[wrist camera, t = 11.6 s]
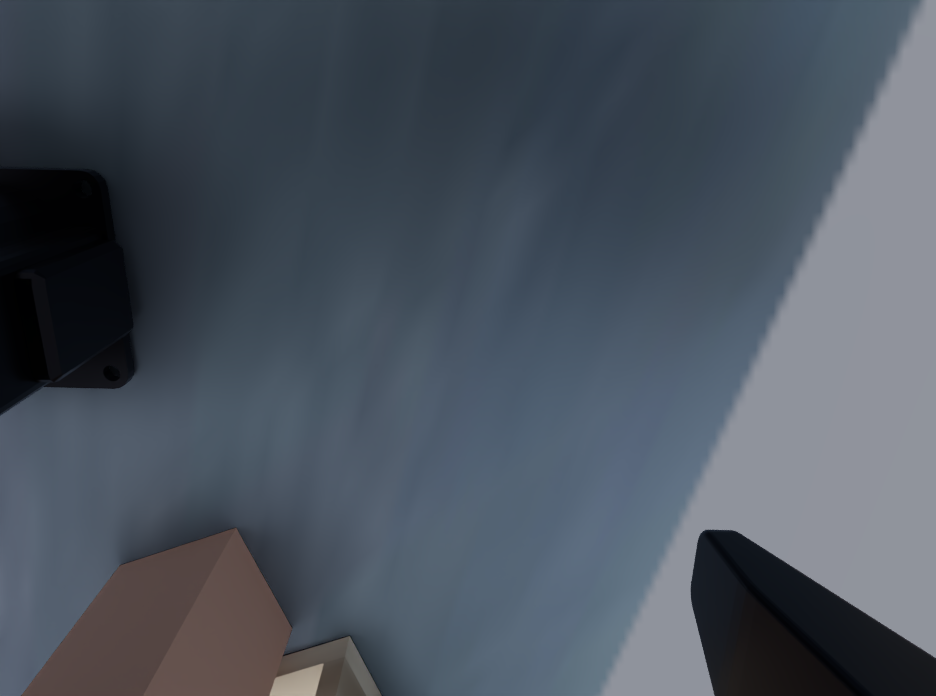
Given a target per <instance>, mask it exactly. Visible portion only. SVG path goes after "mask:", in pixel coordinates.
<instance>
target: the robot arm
mask: <svg viewBox="0 0 936 696" xmlns="http://www.w3.org/2000/svg"><path fill="white" fill-rule="evenodd" d="M83 180H85V181H87V182H88V183H89V184H90V186H91V188H92V194H91V195H90V196H87V195H86V194H85V193H84V192H83V191H82V189H81V182H82V181H83ZM132 328H133V319H132V312H131V305H130V298H129V291H128V284H127V277H126V270H125V263H124V256H123V250H122V248H121V246H120V245H119V244H118V243H117V242H116V241H115V234H114V227H113V221H112V214H111V207H110V200H109V193H108V187H107V184H106V181H105V180H104V178H103V177H102V176H101V175H100V174H99V173H97V172H96V171H93V170H89V169H60V168H18V167H0V416H1V415H2V414H4V413H5V412H7V411H8V410H9V409H11V408H12V407H14V406H15V405H17V404H18V403H20V402H21V401H23V400H24V399H26V398H27V397H29V396H30V395H32V394H33V393H35V392H36V391H38V390H39V389H41V388H42V387H67V388H108V389H115V388H120V387H122V386H123V385H125V384H126V383H127V382H129V381H130V380H131V379H132V377H133V375H134V365H133V358H132V351H131V344H130V337H129V332H130V330H131V329H132ZM110 365H111V366H114V367H116V368H117V369H118V370H119V372H120V376H115V375H114V374H113V373H111V371H110ZM691 601H692V607H693V611H694V614H695V619H696V623H697V626H698V631H699V635H700V639H701V642H702V647H703V650H704V655H705V659H706V663H707V667H708V671H709V675H710V679H711V683H712V687H713V691H714V695H715V696H936V658H934V657H933V656H931V655H930V654H928V653H927V652H925V651H924V650H922V649H921V648H919V647H917V646H916V645H914V644H913V643H911V642H910V641H908V640H906V639H905V638H903V637H902V636H900V635H898V634H897V633H895V632H894V631H892V630H891V629H889V628H888V627H886V626H884V625H883V624H881V623H880V622H878V621H876V620H875V619H873V618H872V617H870V616H868V615H867V614H866V613H864V612H862V611H861V610H859V609H858V608H856V607H854V606H853V605H851V604H849V603H848V602H847V601H845V600H844V599H842V598H840V597H839V596H837V595H836V594H834V593H832V592H831V591H829V590H828V589H826V588H825V587H823V586H822V585H820V584H818V583H817V582H815V581H814V580H812V579H811V578H809V577H807V576H806V575H804V574H803V573H801V572H800V571H798V570H797V569H795V568H793V567H792V566H790V565H789V564H787V563H786V562H784V561H782V560H781V559H779V558H778V557H776V556H774V555H773V554H771V553H770V552H768V551H767V550H765V549H763V548H762V547H760V546H759V545H757V544H756V543H754V542H752V541H751V540H749V539H747V538H746V537H745V536H743V535H742V534H740V533H738V532H736V531H732V530H705V531H703V532H702V533H701V534H700V536H699V539H698V543H697V550H696V556H695V563H694V569H693V576H692V581H691Z"/></svg>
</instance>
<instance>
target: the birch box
mask: <svg viewBox="0 0 936 696" xmlns="http://www.w3.org/2000/svg"><path fill="white" fill-rule="evenodd" d="M269 696H382V695H381V693H380V691H379V690H378V688H377V686H376V684H375V682H374V680H373V678H372V677H371V675H370V673H369V671H368V669H367V667H366V665H365V664H364V662H363V660H362V658H361V656H360V654H359V652H358V650H357V649H356V647H355V645H354V643H353V641H352V639H351V637H350V636H348V637H345V638H342V639H338V640H335V641H332V642H329V643H325V644H322V645H319V646H315V647H312V648H309V649H306V650H302V651H299V652H296V653H292V654H289V655H286V656H283V657H282V660H281V663H280V666H279V669H278V672H277V675H276V678H275V680H274V683H273V686H272V689H271V692H270V695H269Z"/></svg>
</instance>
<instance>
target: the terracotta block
mask: <svg viewBox="0 0 936 696" xmlns="http://www.w3.org/2000/svg"><path fill="white" fill-rule="evenodd" d="M291 631H292V627H291V625H290V624H289V622H288V620H287V618H286V616H285V615H284V613H283V611H282V609H281V607H280V606H279V604H278V602H277V600H276V598H275V597H274V595H273V593H272V591H271V589H270V588H269V586H268V584H267V582H266V581H265V579H264V577H263V575H262V573H261V572H260V570H259V568H258V566H257V564H256V563H255V561H254V559H253V557H252V555H251V554H250V552H249V550H248V548H247V546H246V545H245V543H244V541H243V539H242V537H241V536H240V534H239V532H238V530H237V528H233V529H230V530H227V531H224V532H221V533H218V534H215V535H212V536H209V537H206V538H203V539H200V540H197V541H194V542H190V543H187V544H184V545H181V546H178V547H175V548H172V549H169V550H166V551H163V552H160V553H157V554H154V555H151V556H147V557H144V558H141V559H138V560H135V561H132V562H129V563H126V564H123V565H120V566H119V567H118V568H117V570H116V571H115V572H114V574H113V575H112V576H111V578H110V579H109V580H108V582H107V583H106V584H105V586H104V587H103V588H102V590H101V591H100V592H99V594H98V595H97V596H96V598H95V599H94V600H93V601H92V603H91V604H90V605H89V607H88V608H87V609H86V611H85V612H84V613H83V615H82V616H81V617H80V619H79V620H78V621H77V623H76V624H75V625H74V627H73V628H72V629H71V631H70V632H69V633H68V635H67V636H66V637H65V638H64V640H63V641H62V642H61V644H60V645H59V646H58V648H57V649H56V650H55V652H54V653H53V654H52V656H51V657H50V658H49V660H48V661H47V662H46V664H45V665H44V666H43V668H42V669H41V670H40V672H39V673H38V674H37V675H36V677H35V678H34V679H33V681H32V682H31V683H30V685H29V686H28V687H27V689H26V690H25V691H24V693H23V694H22V695H21V696H269V695H270V692H271V689H272V686H273V683H274V680H275V678H276V675H277V672H278V669H279V666H280V663H281V660H282V657H283V654H284V651H285V648H286V645H287V643H288V640H289V637H290V634H291Z"/></svg>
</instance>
